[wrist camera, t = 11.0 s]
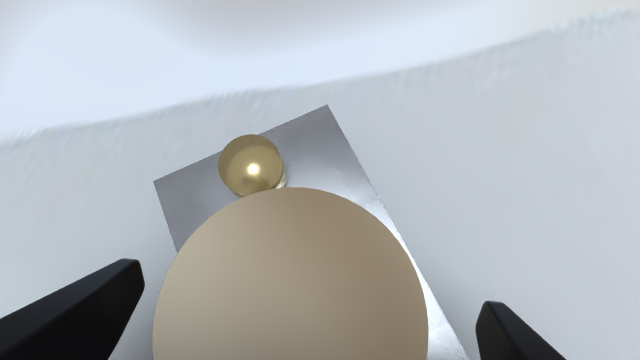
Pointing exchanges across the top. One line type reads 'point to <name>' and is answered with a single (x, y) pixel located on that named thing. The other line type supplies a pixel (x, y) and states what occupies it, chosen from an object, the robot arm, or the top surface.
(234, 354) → the pin
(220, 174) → the mounting plate
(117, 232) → the top surface
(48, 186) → the top surface
